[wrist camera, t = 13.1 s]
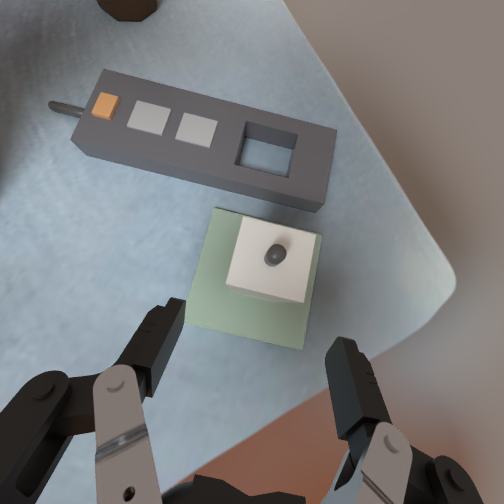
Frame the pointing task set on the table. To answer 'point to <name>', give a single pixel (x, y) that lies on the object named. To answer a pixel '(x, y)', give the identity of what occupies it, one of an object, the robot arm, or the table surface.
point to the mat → (238, 305)
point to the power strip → (200, 139)
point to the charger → (271, 262)
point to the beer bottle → (128, 9)
